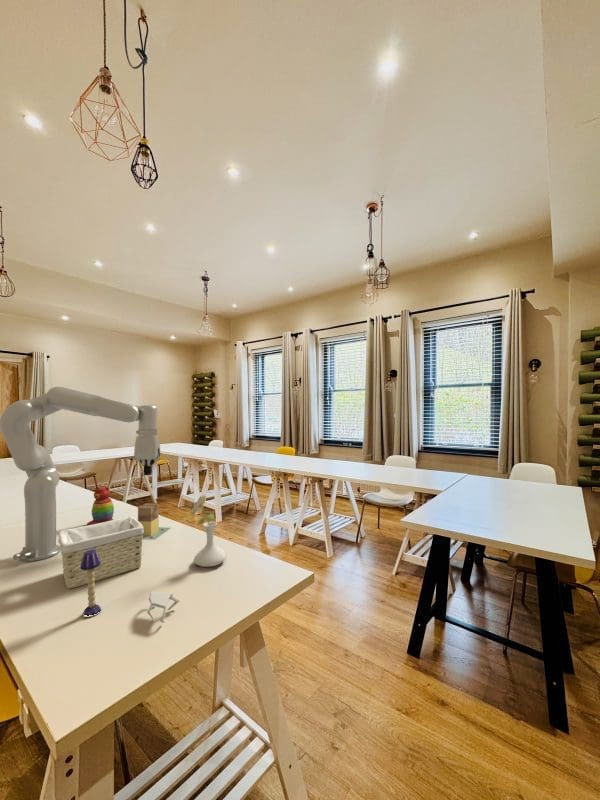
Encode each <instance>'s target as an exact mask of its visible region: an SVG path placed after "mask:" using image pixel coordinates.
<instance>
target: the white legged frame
mask: <svg viewBox="0 0 600 800" xmlns="http://www.w3.org/2000/svg"><path fill="white" fill-rule="evenodd" d="M173 595H174V594H173V593H164V592H158V591H153V590H151V591H150V593H149V597H148V601H149V603H150V606H149V608H148V610H147V612H146V614H148V615H149V617H150V618H151V619H153V620H154V617H153V615H152V614H151V609H152V608H153V607H155V608H160V609H163V611H162V616H161V619H160V623H164V624H165V621H164V620H165V615H166V611H167V610H168V611H170V610H172V609H173V608H174V607H175V606H176V605H177V604H178V603H180V599H179V600H178V599H177V598H176V597H174V596H173ZM169 600H171V601H173V603H172V604H171V605H170V606H169V607H168V609H167V610H166V608H167V605H168V603H169Z"/></svg>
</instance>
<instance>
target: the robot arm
mask: <svg viewBox="0 0 600 800" xmlns="http://www.w3.org/2000/svg"><path fill="white" fill-rule="evenodd" d="M61 410H64V411H71V412H74V413H77V414H78V413H79V414H83V415H87V416H92V417H101V418H105V419H109V420H115V421H120V422H124V423H134V422H138V429H137V430H136V432H135V433H136V434H137V435H138V436H136V438H135V443H134V450H133V457H134V459H135V461H136V462H138V463H140V464H141V466H142V467H143V475H144V476H150V475H152V473H153V466H154V464H155V463H157V462H160V461H161V460H160V459H161V444H160V443H161V442H160V438H159V435H158V407H157V406H156V405H154V404H153V405H150V404H146V405H133V404H130V403H126V402H121V401H116V400H114V399H113V400H112V399H109V398H105V397H103V396H99V395H97V394H93V393H88V392H84V391H81V390H80V391H79V390H75V389H72V388H69V387H68V388H67V387H63V386H54V387H51V388H50V389H49V390H48V391H47V392H46V393H44V394H41V395H39V396H36V397H34V398H32V399H20V400H17V401H15V402H13V403H11V404H10V405H8V407H6V409H5V410H4V411H3V412H2V414H1V416H0V432H1V434H2V437H3V439H4V441H5V443H6V446H7V448H8V450H9V453H10V455H11V457H12V460H13V462H14V464H15V466H16V467H17V468H18V469H19V470H20V471H23V472H25V474H26V476H27V480H26V481H25V483H24V487H23V495H24V496H23V497H24V510H25V511H24V515H25V518H24V520H25V521H24V523H25V524H24V525H25V528H24V529H25V532H24V533H25V534H24V535H25V536H24V538H25V539H24V540H25V541H24V543H25V544H24V546H23V547H22V550H21V551H20V552H17V553H14V554H13V556H12V559H13V561H17V560H19V559H20V561H22V560H23V561H22V562H36V561H40V560H44V559H49V558H51V557H53V556H55V555H57V554H59V553H61V547H60V544H57V498H56V497H57V496H56V491H57V486H59V485H58V484H59V482H60V474H59V472H58V471H57V468H56V466H55V463H54V461H53V459H52V457H51V455H50V452H49V450H48V449H46V448H45V447H44V446H42V445H41V444H39V443H38V441H37V440H36V437H35V435H34V432H33V431H32V429H31V427H30V423H31V422H35V421H37V420H40V419H42V418H45V417H47V416H49V415H52V414H55V413H56V412H58V411H61ZM35 560H36V561H35Z"/></svg>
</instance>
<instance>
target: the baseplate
mask: <svg viewBox="0 0 600 800" xmlns="http://www.w3.org/2000/svg"><path fill="white" fill-rule="evenodd" d="M171 529H172V527H164V526H163V527H159V531H157V532H156V533H154V534H153V535H152V536H144V535H143V539H142V540H149V541H152V540H157V539H158V538H160V537H161V536H162V535H164V534H165V533H167V532H168V531H169V530H171Z"/></svg>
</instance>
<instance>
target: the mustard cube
mask: <svg viewBox="0 0 600 800" xmlns="http://www.w3.org/2000/svg"><path fill="white" fill-rule="evenodd" d="M139 522H140V523H141V524H142V526H143V530H144V533H143V535H144V536H152V535H153V534H154V533H156V532H157V531H159V522H160V521H159V516H158V518H156V519H155V520H153V521H151V522H144V521H139Z"/></svg>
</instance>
